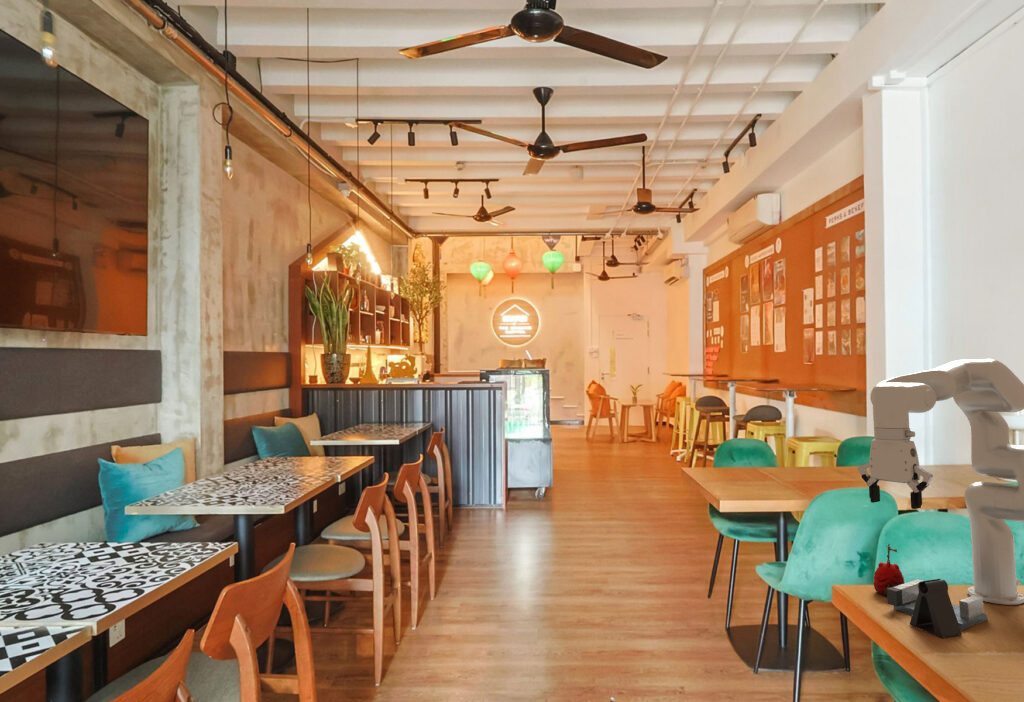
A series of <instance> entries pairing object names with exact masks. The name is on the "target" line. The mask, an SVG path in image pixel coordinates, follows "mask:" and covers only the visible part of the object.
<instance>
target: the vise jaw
mask: <svg viewBox="0 0 1024 702" xmlns="http://www.w3.org/2000/svg"><path fill="white" fill-rule="evenodd" d="M921 581H923V580H921V579H914V580H911V581H909V582H904V584H901V585H898V586H895V587H890V588H887V596H886V599H887V605H890V606H893V607H894V606H896V607H898V606H901V605H903V604H905V603H908V602H910V601H913V600H916V599H917V597H918V593H919V588H918V584H919V582H921Z"/></svg>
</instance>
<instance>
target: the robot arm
mask: <svg viewBox="0 0 1024 702" xmlns="http://www.w3.org/2000/svg"><path fill="white" fill-rule="evenodd" d="M869 397H870V403H871V404H872V416H873V419H872V420H873V433H874V434H873V435H874V436H873V437H874V439H871V443H870V450H869V462H867V463H864V464H863V465H860V466H858V467H857V471H858V472H859V474H860V476H861V478H862V480H863V481H864V482H865V484H866V486H868V493H869V498H870V503H871V504H873V503H880V502H881V489H880V488H881V487H880V485H879V483H880V481H882V482H883V481H884V482H892V483H901V484H906V485H907V486H908V487H909V488H910V489H911V491H910V507H911V509H912V510H917V509H921V508H922V505H923V494H922V493H923V492H924V491H925V489H927V488H928V487H929V486H930V483H931V481H932V479H933V478H934V476H933V474H932V473H931V472H928V471H927V470H925V469H923V468H922V467H921V466H920V462H919V455H918V451H917V446H916V444H915V441H914V440H911V438H915V437H916V432H915V431H913V430H911V428H910V418H909V417H910V416H909V415H910V413H911V414H923V413H926V412H929V411H931V410H932V409H933V408H935V407H934V406H935V405H936V402H942V401H946V400H949V399H951V398H953V401H954V403H955V405H957V407H958V408H959V409H960V410H961V411H962V413H963V414H964V415H965V417H966V418H967V420H968V422H969V425H970V433H971V434H970V436H971V437H970V439H971V440H970V441H971V443H970V448H971V449H970V450H971V455H970V456H971V457H970V459H971V467H972V470H973V472H975V474H977V475H979V476H981V477H986V478H994V479H995V478H996V479H1002V480H1003V479H1004V480H1013V481H1016V482H1017V484H1016V485H1015V484H1007V483H1000V482H994V481H993V482H992V481H975V482H972V483H970V484H969V485H968V486H966V487H965V490H964V501H965V502H964V503H965V506H966V509H967V513H968V518H969V524H970V525H969V526H970V537H971V538H970V541H971V554H972V555H971V556H972V557H971V558H972V571H973V572H972V577H973V585H972V586H968V588H967V594H968V595H969V597H970V596H973V595H975V596H979V597H983V602H985V603H990V604H991V603H992V604H997V605H1007V606H1014V605H1015V606H1016V605H1021V604H1024V595H1023V594H1021V593H1020V592H1018V586H1020V585H1021V581H1020V579H1019V578H1017V572H1016V570H1017V569H1016V553H1015V537H1014V534H1013V531H1012V529H1011V527H1010V526H1009V524H1008V523H1007V521H1006V520H1008V521H1014V522H1019V523H1024V445H1023V444H1021V445H1020V444H1011V443H1010V433H1009V432H1010V431H1009V430H1010V429H1009V424H1008V423H1007V421H1006V420H1005V418H1004V417H1003V416H1002V414H1001V413H1018V412H1022V411H1023V410H1024V383H1023V382H1022V381H1021V380H1020V378H1019V377H1018V376H1017V375H1016V374H1015V373H1014V372H1013V371H1012V370H1011V369H1010V368H1009V367H1008V366H1007V365H1006V364H1004V363H1003V362H1001V361H999V360H997V359H993V358H980V359H979V358H978V359H976V358H975V359H957V360H953V361H949V362H947V363H945V364H942V365H939V366H937V367H934V368H932V369H928V370H921V371H917V372H914V373H908V374H905V375H904V374H903V375H899V376H895V377H891V378H888V379H885V380H882V381H880V382H877V383H876V384H875V385H874V387H872V389H871V392H870V395H869ZM868 470H869V474H868ZM921 477H922V481H920V480H921Z"/></svg>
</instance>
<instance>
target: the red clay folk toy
mask: <svg viewBox="0 0 1024 702" xmlns="http://www.w3.org/2000/svg"><path fill="white" fill-rule="evenodd" d="M885 546H886V548H887V554H886V558H887V559H886V560H887V561H886V562H882V561H880V562H879V563H878V567H877V568H876V570H875V571H874V573H873V587H874V588H873V589H874V590H875V591H876V593H878V594H879V595H881V596H884V597H887V588H890V587H895V586H898V585H901V584H905V579H904V576H903V573H902V571H901V570H900V565H899V564H897V563H891V560H890V558H891V557H890V552H891V551H893V552H895V553H898V549H897V548H895V549H893V548H891V546H890V543H888V544H886V545H885Z"/></svg>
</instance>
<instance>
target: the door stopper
mask: <svg viewBox="0 0 1024 702" xmlns="http://www.w3.org/2000/svg"><path fill="white" fill-rule="evenodd" d="M918 588H919V593H918V597H917V600H916V604H915V607H914V611H913V614H912V615H911V618H910V621H909V625H910V626H911V625H912V627H914V628H916V627H917V629H918V628H919V629H918V630H921V631H923V632H925V633H927V634H928V633H929V634H930V635H932V636H935V637H938V638H940V639H946V638H952V637H957V636H962V634H963V633H962V630H961V629H960V626H959V624H958V621H957V618H956V615H955V612H954V609H953V606H952V604H953V603H952V601H951V598H950V594H949V585H948V583H947V581H946V580H945V579H942V578H936V579H928V580H922V581H921V582H919V584H918Z"/></svg>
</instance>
